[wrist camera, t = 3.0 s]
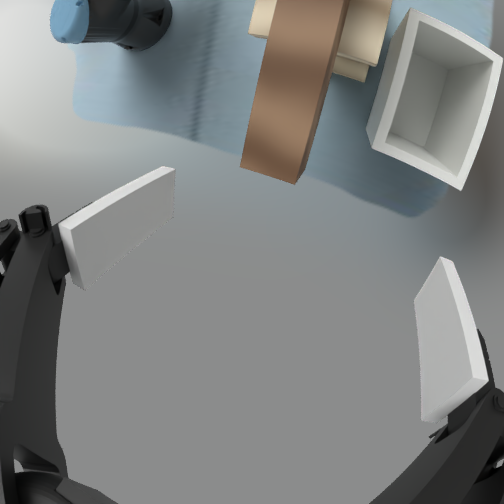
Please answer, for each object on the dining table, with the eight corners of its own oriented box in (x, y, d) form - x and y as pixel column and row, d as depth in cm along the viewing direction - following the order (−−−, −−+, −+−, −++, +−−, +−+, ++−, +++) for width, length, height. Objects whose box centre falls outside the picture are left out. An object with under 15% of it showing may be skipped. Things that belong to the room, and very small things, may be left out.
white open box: (425, 154, 42) (461, 190, 26) (365, 128, 44) (371, 148, 28) (453, 67, 31) (503, 58, 15) (390, 38, 33) (410, 7, 17)
